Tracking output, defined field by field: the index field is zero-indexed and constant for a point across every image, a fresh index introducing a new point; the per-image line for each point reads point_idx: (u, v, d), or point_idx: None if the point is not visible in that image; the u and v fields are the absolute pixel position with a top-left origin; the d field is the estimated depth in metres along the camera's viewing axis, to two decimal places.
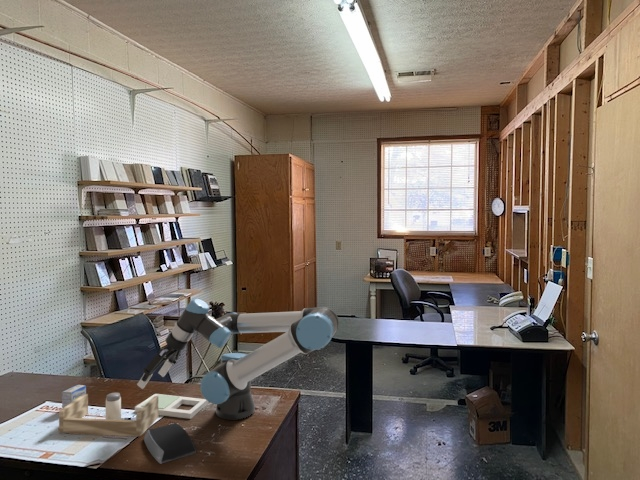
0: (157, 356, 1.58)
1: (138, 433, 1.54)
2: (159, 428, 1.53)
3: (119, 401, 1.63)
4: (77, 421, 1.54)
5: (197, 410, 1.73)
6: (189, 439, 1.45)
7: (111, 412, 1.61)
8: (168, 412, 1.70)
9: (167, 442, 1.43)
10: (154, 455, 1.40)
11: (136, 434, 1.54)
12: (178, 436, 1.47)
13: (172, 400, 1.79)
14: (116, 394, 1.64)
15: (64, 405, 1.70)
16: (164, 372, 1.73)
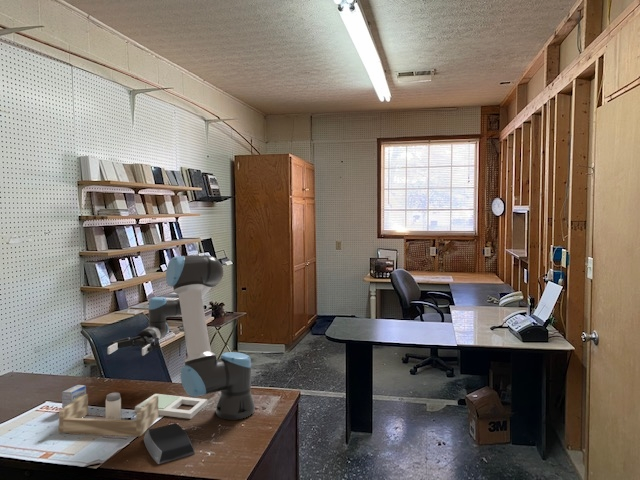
0: None
1: (138, 433, 1.54)
2: (159, 428, 1.53)
3: (119, 401, 1.63)
4: (77, 421, 1.54)
5: (197, 410, 1.73)
6: (188, 440, 1.45)
7: (111, 412, 1.61)
8: (168, 412, 1.70)
9: (166, 442, 1.43)
10: (152, 455, 1.40)
11: (136, 434, 1.54)
12: (177, 436, 1.47)
13: (172, 400, 1.79)
14: (116, 394, 1.64)
15: (64, 405, 1.70)
16: None
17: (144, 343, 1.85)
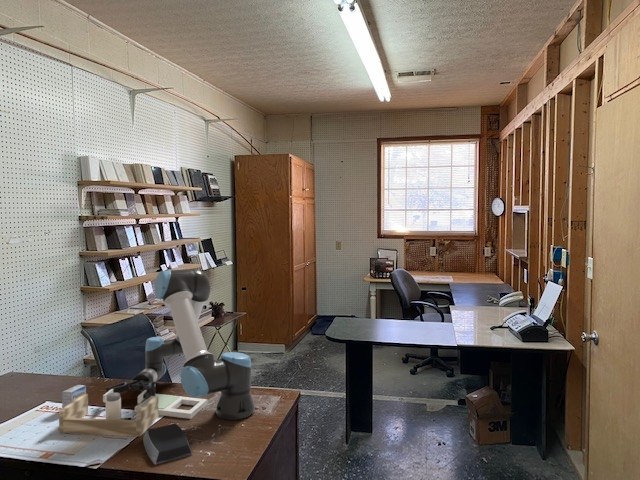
0: None
1: (138, 433, 1.54)
2: (158, 428, 1.53)
3: (119, 401, 1.63)
4: (77, 421, 1.54)
5: (197, 410, 1.73)
6: (185, 440, 1.45)
7: (111, 412, 1.61)
8: (168, 412, 1.70)
9: (163, 442, 1.43)
10: (150, 455, 1.40)
11: (136, 434, 1.54)
12: (175, 437, 1.47)
13: (172, 400, 1.79)
14: (116, 394, 1.64)
15: (64, 405, 1.70)
16: None
17: (140, 388, 1.83)
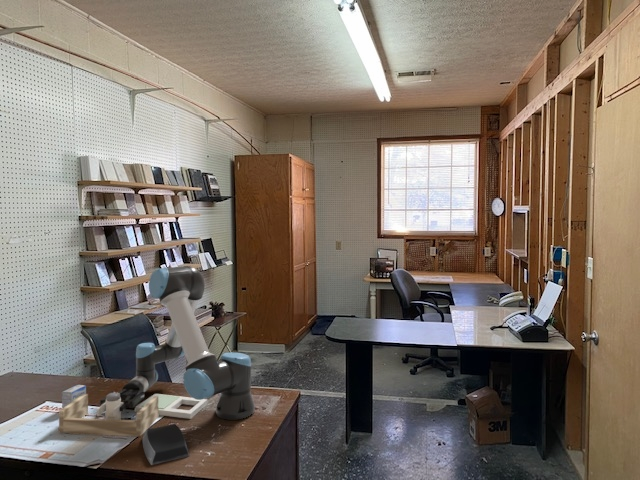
0: None
1: (138, 433, 1.54)
2: (157, 428, 1.53)
3: (119, 401, 1.63)
4: (77, 421, 1.54)
5: (197, 410, 1.73)
6: (183, 441, 1.44)
7: (111, 412, 1.61)
8: (168, 412, 1.70)
9: (161, 443, 1.42)
10: (147, 456, 1.40)
11: (136, 434, 1.54)
12: (173, 438, 1.46)
13: (172, 400, 1.79)
14: (116, 394, 1.64)
15: (64, 405, 1.70)
16: None
17: (127, 397, 1.72)
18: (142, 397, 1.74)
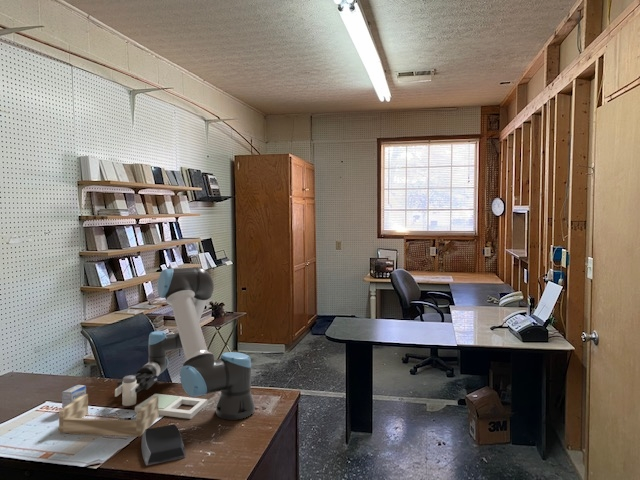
0: None
1: (138, 433, 1.54)
2: (156, 428, 1.53)
3: (135, 383, 1.76)
4: (77, 421, 1.54)
5: (197, 410, 1.73)
6: (180, 443, 1.43)
7: (127, 393, 1.74)
8: (168, 412, 1.70)
9: (158, 443, 1.42)
10: (143, 456, 1.40)
11: (136, 434, 1.54)
12: (170, 438, 1.46)
13: (172, 400, 1.79)
14: (132, 377, 1.77)
15: (64, 405, 1.70)
16: None
17: None
18: (155, 380, 1.86)
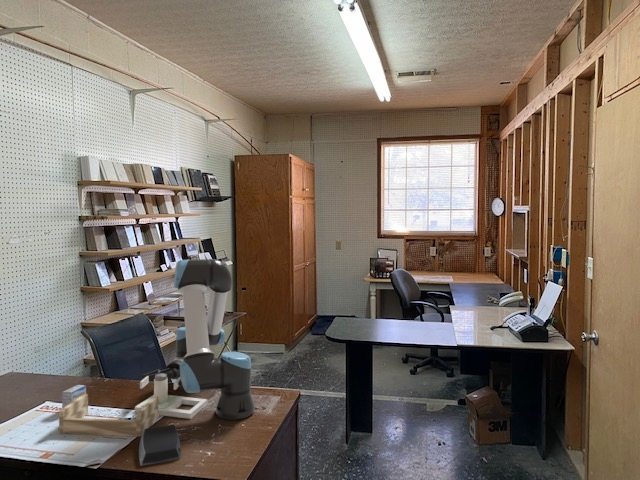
0: None
1: (138, 433, 1.54)
2: (155, 428, 1.53)
3: (166, 381, 1.78)
4: (77, 421, 1.54)
5: (197, 410, 1.73)
6: (175, 444, 1.42)
7: (159, 390, 1.76)
8: (168, 412, 1.70)
9: (154, 444, 1.42)
10: (139, 456, 1.40)
11: (136, 434, 1.54)
12: (167, 439, 1.45)
13: (172, 400, 1.79)
14: (163, 374, 1.79)
15: (64, 405, 1.70)
16: None
17: (174, 375, 1.87)
18: None
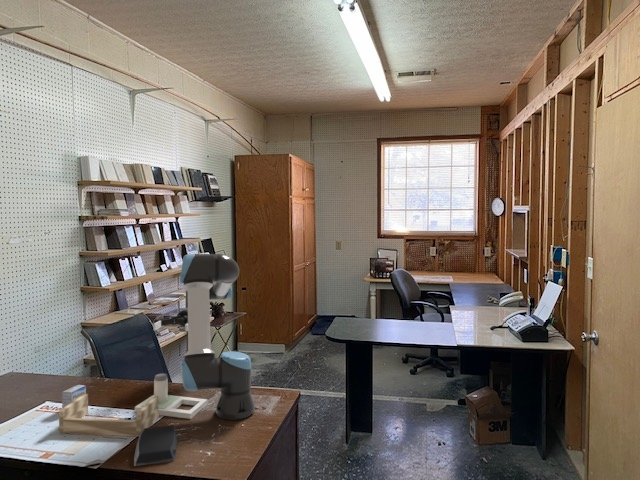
0: None
1: (138, 433, 1.54)
2: (154, 428, 1.52)
3: (166, 381, 1.78)
4: (77, 421, 1.54)
5: (197, 410, 1.73)
6: (170, 445, 1.41)
7: (159, 391, 1.76)
8: (168, 412, 1.70)
9: (149, 444, 1.42)
10: (134, 456, 1.40)
11: (136, 434, 1.54)
12: (163, 440, 1.44)
13: (172, 400, 1.79)
14: (163, 375, 1.78)
15: (64, 405, 1.70)
16: None
17: (184, 321, 1.99)
18: None
